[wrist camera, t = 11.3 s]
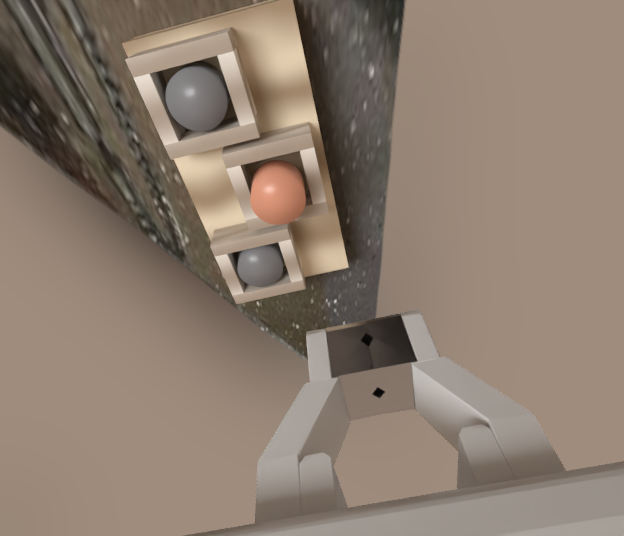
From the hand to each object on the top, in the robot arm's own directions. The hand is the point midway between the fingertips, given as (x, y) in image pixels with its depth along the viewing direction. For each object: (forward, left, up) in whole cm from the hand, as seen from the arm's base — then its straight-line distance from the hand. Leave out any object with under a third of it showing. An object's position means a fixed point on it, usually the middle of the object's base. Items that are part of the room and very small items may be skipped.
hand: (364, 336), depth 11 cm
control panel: (+6, -6, -31) cm, 32 cm away
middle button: (+6, -4, -24) cm, 25 cm away
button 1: (-2, -8, -27) cm, 28 cm away
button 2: (+14, -8, -27) cm, 32 cm away
